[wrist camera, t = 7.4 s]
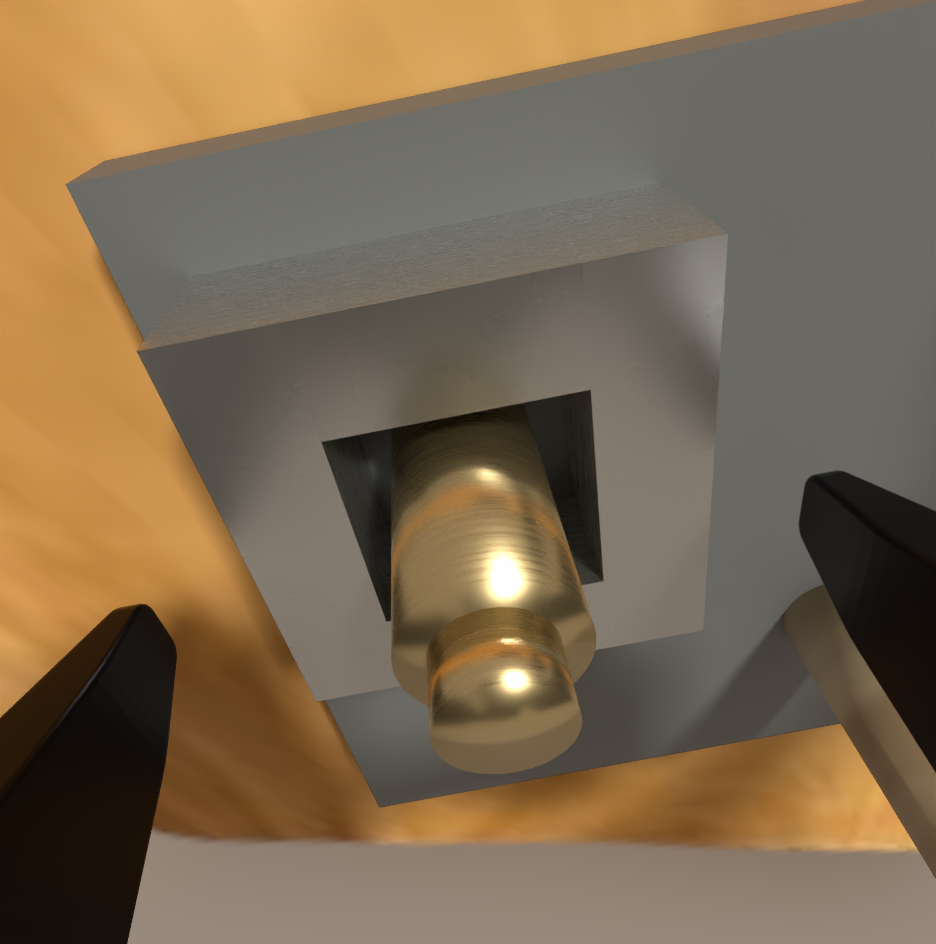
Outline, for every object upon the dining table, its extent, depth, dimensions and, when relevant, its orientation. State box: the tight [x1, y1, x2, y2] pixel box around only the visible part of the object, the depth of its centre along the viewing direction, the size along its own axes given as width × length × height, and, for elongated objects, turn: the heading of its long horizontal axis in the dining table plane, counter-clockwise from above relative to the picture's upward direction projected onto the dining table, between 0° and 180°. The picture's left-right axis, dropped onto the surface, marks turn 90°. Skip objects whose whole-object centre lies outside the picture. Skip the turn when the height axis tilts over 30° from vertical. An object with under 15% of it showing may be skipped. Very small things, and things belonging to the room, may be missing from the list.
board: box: [66, 0, 936, 807], centre depth 14 cm, size 17×17×2 cm
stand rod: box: [782, 585, 936, 878], centre depth 14 cm, size 2×2×6 cm
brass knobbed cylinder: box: [391, 403, 596, 774], centre depth 9 cm, size 2×2×6 cm
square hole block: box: [137, 183, 728, 702], centre depth 11 cm, size 7×7×2 cm
